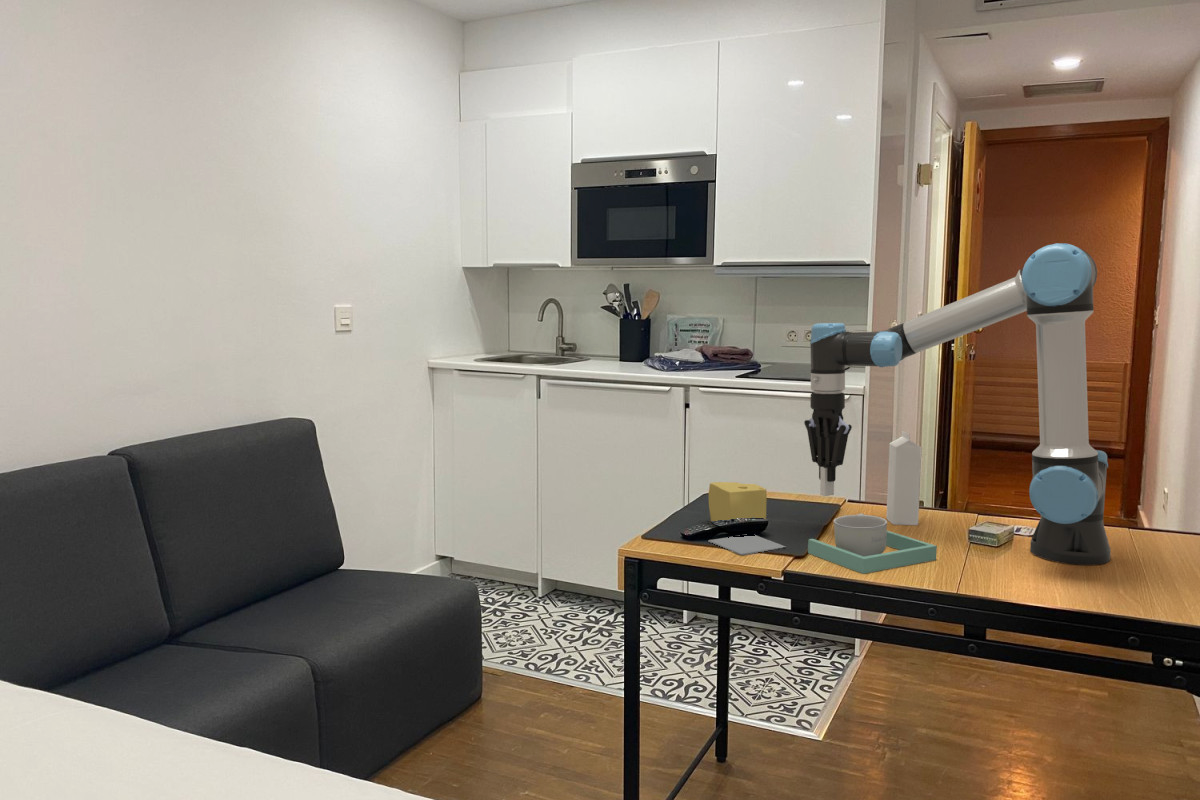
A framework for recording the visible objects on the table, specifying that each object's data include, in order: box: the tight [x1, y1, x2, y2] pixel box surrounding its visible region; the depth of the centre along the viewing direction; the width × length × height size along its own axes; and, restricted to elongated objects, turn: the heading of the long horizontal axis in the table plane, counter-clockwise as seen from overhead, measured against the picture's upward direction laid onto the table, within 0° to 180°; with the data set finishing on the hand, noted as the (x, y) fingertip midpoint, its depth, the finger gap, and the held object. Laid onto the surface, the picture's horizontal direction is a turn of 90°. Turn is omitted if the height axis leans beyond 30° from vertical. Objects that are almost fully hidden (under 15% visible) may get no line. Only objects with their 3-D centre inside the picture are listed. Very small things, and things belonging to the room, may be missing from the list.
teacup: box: [832, 513, 888, 557], centre depth 194 cm, size 14×11×8 cm
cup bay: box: [807, 530, 938, 575], centre depth 193 cm, size 16×20×3 cm
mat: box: [707, 534, 787, 556], centre depth 201 cm, size 12×12×1 cm
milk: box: [886, 430, 923, 526], centre depth 221 cm, size 6×6×22 cm
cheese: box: [708, 481, 768, 522], centre depth 217 cm, size 10×11×10 cm
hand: (827, 494), depth 209 cm, fingers closed
